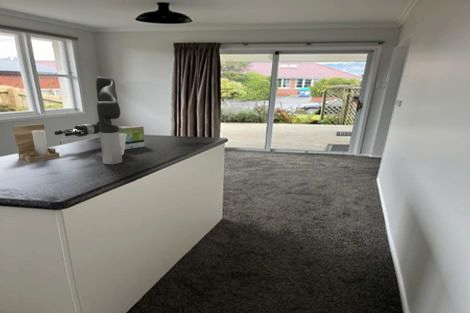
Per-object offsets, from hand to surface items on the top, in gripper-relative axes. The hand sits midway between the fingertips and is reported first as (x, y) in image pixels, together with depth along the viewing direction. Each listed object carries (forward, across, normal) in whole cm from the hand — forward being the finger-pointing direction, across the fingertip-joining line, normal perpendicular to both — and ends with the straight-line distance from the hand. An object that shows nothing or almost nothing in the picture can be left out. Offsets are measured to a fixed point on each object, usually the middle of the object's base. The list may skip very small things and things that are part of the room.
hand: (60, 133), depth 147 cm
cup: (-14, +28, +13) cm, 34 cm away
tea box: (-33, +22, +13) cm, 42 cm away
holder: (+11, -4, +12) cm, 17 cm away
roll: (+11, 0, +10) cm, 15 cm away
